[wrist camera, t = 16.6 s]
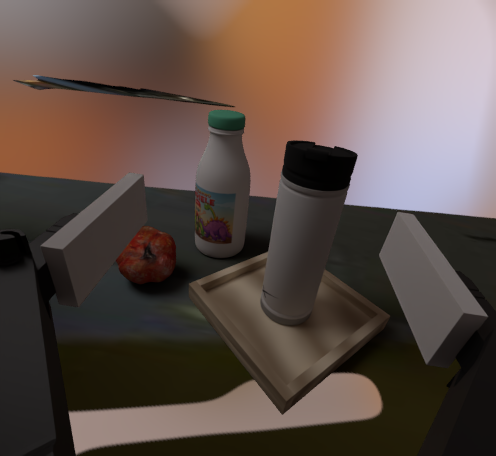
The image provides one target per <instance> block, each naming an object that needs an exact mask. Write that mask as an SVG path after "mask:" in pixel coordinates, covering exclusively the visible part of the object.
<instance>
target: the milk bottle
mask: <svg viewBox="0 0 496 456" xmlns="http://www.w3.org/2000/svg"><path fill="white" fill-rule="evenodd" d="M208 124H209V128H208V130H209V131H210V137H209V141H208V144H207V147H206V149H205V152H204V154H203V156H202V158H201V160H200V162H199V165H198V169H197V175H196V188H195V189H196V190H195V244H196V246H197V248H198V250H199V251H200V252H201V253H203V254H205V255H207V256H209V257H213V258H228V257H232V256H234V255H236V254H238V253H239V252H240V251H241V250H242V248H243V246H244V241H245V232H246V223H247V214H248V204H249V193H250V169H249V165H248V162H247V159H246V156H245V153H244V149H243V144H242V134H243V133H244V127H245V116H244V114H242V113H239V112H236V111H230V110H214V111H211V112H209V116H208Z"/></svg>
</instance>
